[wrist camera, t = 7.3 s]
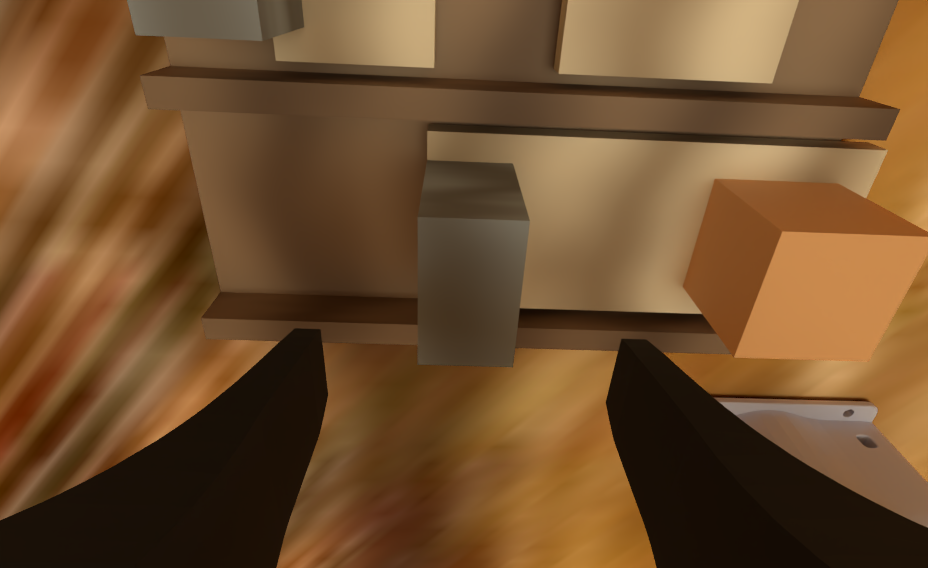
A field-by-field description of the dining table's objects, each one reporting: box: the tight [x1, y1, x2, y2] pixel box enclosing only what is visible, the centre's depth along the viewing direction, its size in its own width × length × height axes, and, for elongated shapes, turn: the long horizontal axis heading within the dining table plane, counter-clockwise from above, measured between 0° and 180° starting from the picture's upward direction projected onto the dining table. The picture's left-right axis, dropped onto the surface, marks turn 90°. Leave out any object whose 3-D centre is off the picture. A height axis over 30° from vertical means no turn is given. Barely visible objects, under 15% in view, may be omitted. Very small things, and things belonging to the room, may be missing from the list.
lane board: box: [127, 0, 900, 354], centre depth 16 cm, size 24×19×6 cm
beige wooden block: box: [418, 124, 888, 367], centre depth 18 cm, size 16×7×6 cm, turn 87°
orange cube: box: [683, 179, 928, 361], centre depth 18 cm, size 4×4×4 cm
